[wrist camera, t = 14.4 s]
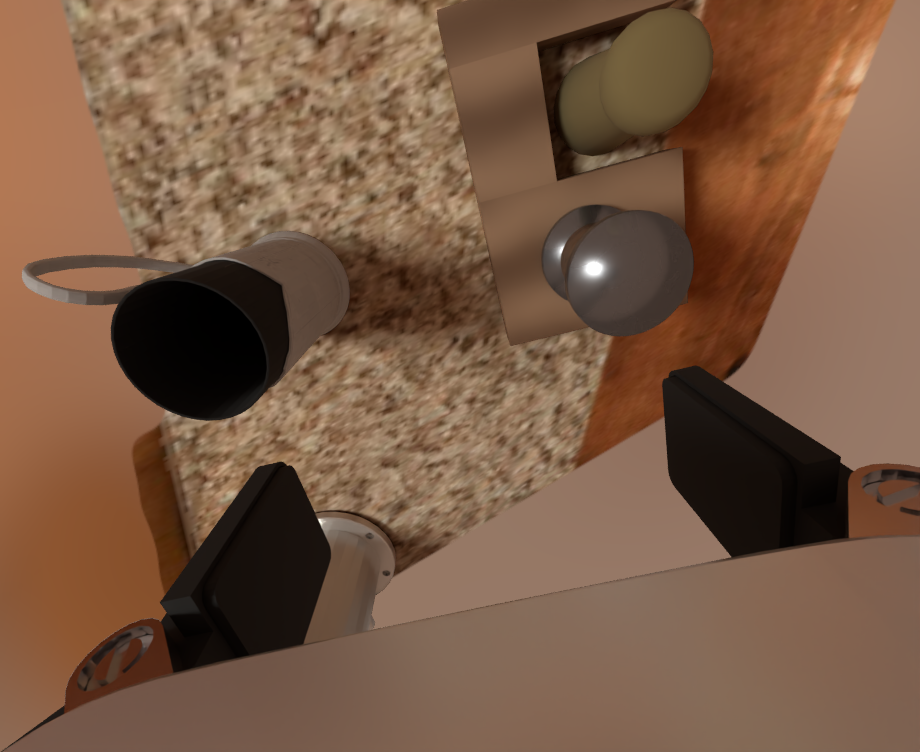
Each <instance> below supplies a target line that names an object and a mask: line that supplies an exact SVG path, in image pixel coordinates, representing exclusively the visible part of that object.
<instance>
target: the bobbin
mask: <svg viewBox="0 0 920 752" xmlns="http://www.w3.org/2000/svg"><path fill="white" fill-rule="evenodd" d="M541 263H542V270H543V274H544V276H545V279H546V281H547V282H548V284H549V285H550V287H551V288H552V289H553V290H554V291H555V292H556V293H557V294H558V295H559V296H560V297H562V298H563V299H565V300H567V301H569V303H570V305H571V307H572V309H573V310H574V312H575V313H576V314H577V316H578V317H579V318H580V319H581V320H582V321H583V322H584V323H585V324H586V325H588V326H589V327H591V328H592V329H594V330H596V331H598V332H600V333H603V334H607V335H612V336H629V335H635V334H639V333H642V332H645V331H647V330H649V329H651V328H653V327H655V326H657V325H658V324H660V323H661V322H663V321H664V320H665V319H666V318H668V317H669V316H670V315H671V314H672V313H673V312H674V311H675V310H676V308H677V307H678V306H679V304H680V303H681V302H682V300H683V298H684V297H685V295H686V293H687V291H688V288H689V286H690V283H691V279H692V275H693V267H694V259H693V251H692V247H691V244H690V242H689V239H688V237H687V236H686V234H685V232H684V231H683V230H682V228H681V227H680V226H679V225H678V224H677V223H676V222H674V221H673V220H672V219H670V218H668V217H667V216H665V215H662V214H660V213H656V212H652V211H646V210H626V211H620V210H618V209H616V208H614V207H611V206H607V205H598V204H591V205H585V206H581V207H578V208H575V209H573V210H571V211H569V212H568V213H566V214H565V215H563V216H562V217H561V218H560V219H559V220H558V221H557V222H556V223H555V224H554V225H553V227H552V228H551V229H550V231H549V233H548V235H547V237H546V239H545V241H544V245H543V248H542V255H541Z"/></svg>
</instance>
